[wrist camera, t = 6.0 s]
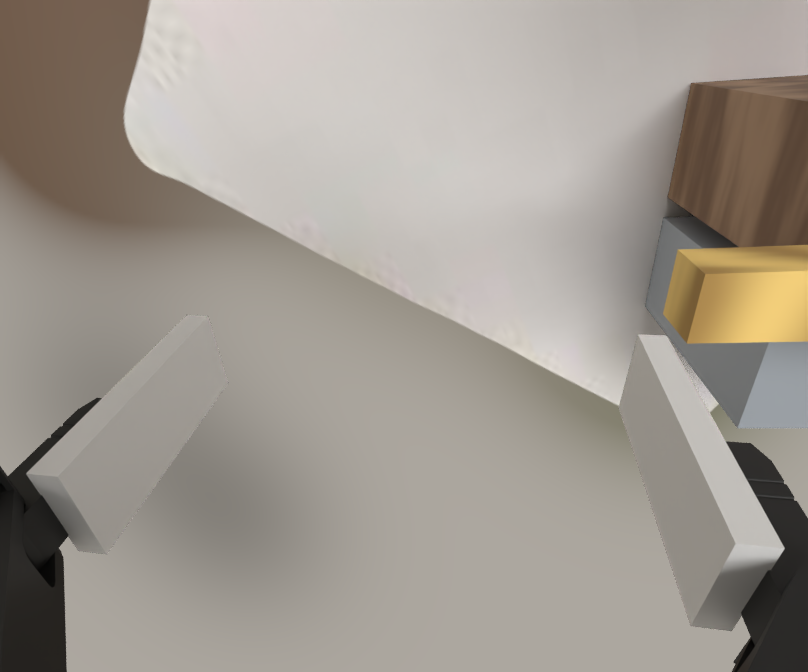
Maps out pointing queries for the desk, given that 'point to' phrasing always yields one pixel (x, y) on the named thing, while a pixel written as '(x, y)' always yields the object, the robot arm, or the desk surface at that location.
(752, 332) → the handle bar
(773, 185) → the walnut post
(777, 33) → the desk surface
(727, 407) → the grey stand
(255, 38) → the desk surface
